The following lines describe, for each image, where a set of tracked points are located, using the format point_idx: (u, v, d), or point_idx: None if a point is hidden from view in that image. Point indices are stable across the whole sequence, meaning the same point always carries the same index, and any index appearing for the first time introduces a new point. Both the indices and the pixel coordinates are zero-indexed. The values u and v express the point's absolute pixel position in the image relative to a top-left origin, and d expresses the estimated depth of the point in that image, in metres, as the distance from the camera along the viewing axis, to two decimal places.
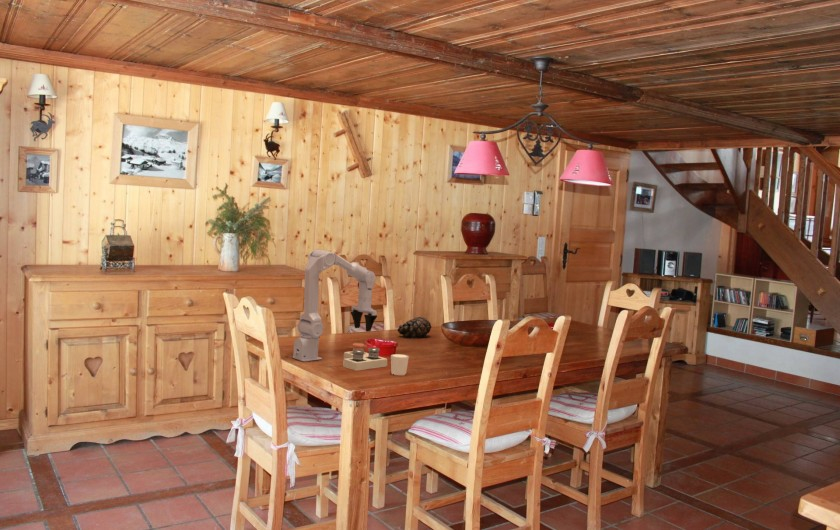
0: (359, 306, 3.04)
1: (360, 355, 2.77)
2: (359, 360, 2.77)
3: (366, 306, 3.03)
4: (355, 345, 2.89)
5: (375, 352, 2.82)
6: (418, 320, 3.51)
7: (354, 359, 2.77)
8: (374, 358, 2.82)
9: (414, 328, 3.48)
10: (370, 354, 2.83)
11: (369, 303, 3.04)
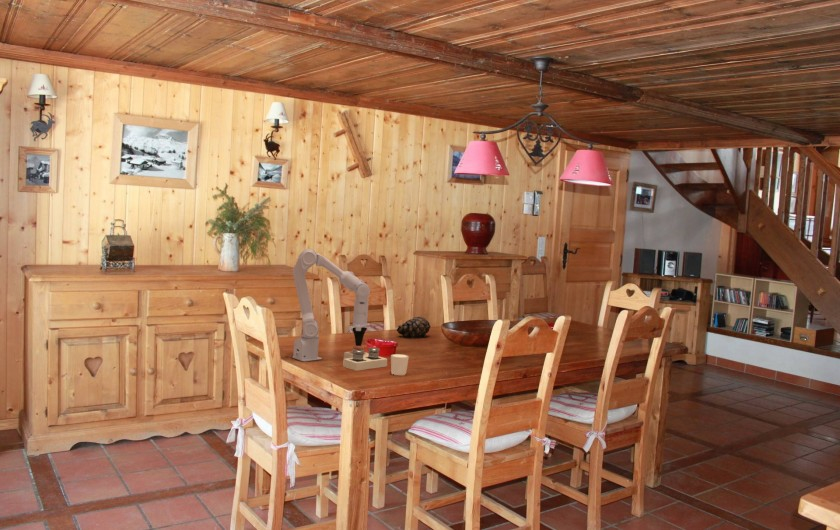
0: (353, 320, 2.90)
1: (360, 355, 2.77)
2: (359, 360, 2.77)
3: (357, 320, 2.87)
4: (355, 346, 2.89)
5: (375, 352, 2.82)
6: (417, 320, 3.51)
7: (354, 359, 2.77)
8: (374, 358, 2.82)
9: (413, 328, 3.48)
10: (370, 354, 2.83)
11: (360, 318, 2.87)
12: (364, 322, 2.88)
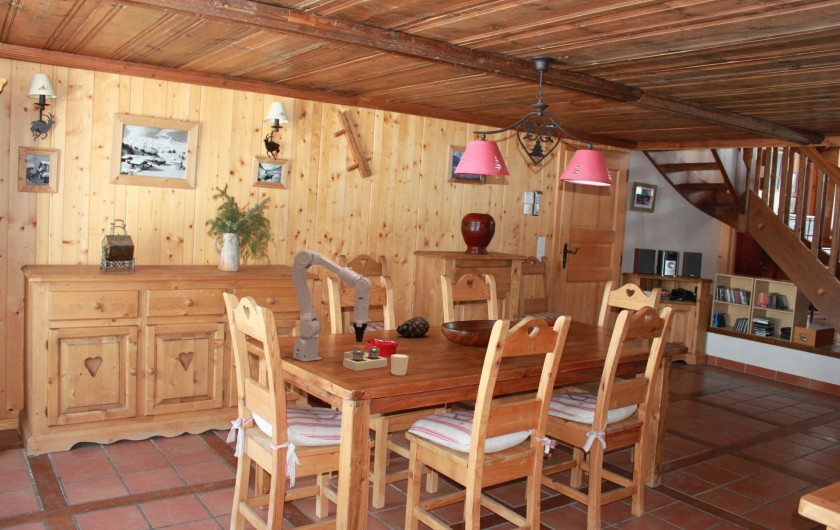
0: None
1: (360, 355, 2.77)
2: (359, 360, 2.77)
3: (358, 316, 2.81)
4: (355, 347, 2.89)
5: (375, 352, 2.82)
6: (417, 320, 3.51)
7: (354, 359, 2.77)
8: (374, 358, 2.82)
9: (413, 328, 3.48)
10: (370, 354, 2.83)
11: (361, 313, 2.81)
12: (365, 318, 2.81)
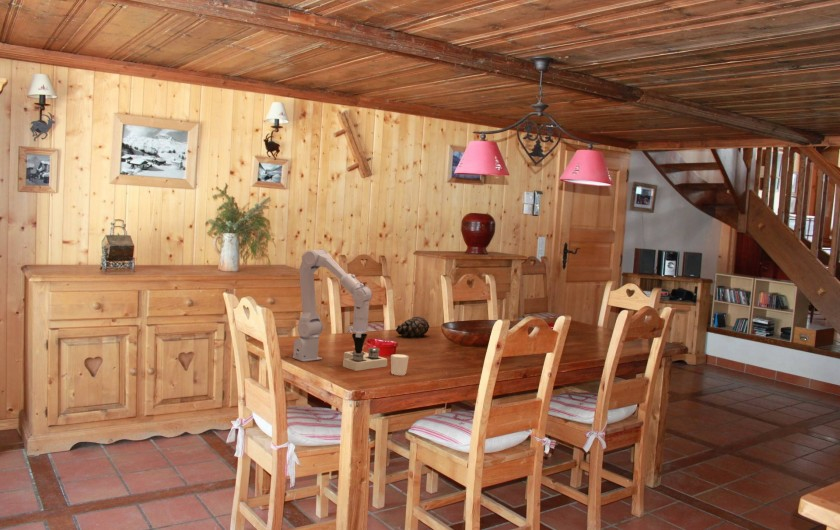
0: (353, 326, 2.77)
1: (360, 357, 2.77)
2: None
3: (357, 326, 2.75)
4: None
5: (375, 352, 2.82)
6: (416, 320, 3.52)
7: None
8: (374, 358, 2.82)
9: (413, 328, 3.48)
10: (370, 354, 2.83)
11: (361, 324, 2.75)
12: (364, 328, 2.75)
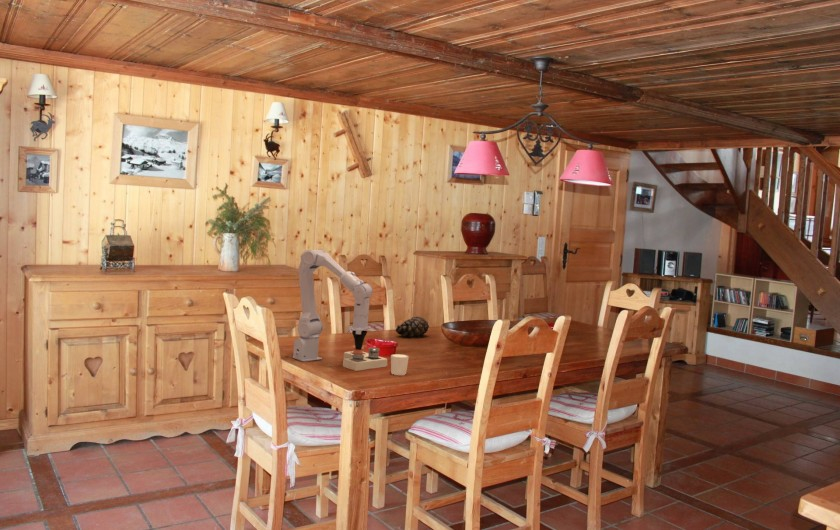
0: (353, 323, 2.77)
1: (360, 360, 2.77)
2: None
3: (357, 323, 2.75)
4: None
5: (375, 352, 2.82)
6: (416, 320, 3.52)
7: None
8: (374, 358, 2.82)
9: (412, 328, 3.48)
10: (370, 354, 2.83)
11: (361, 321, 2.75)
12: (364, 325, 2.75)
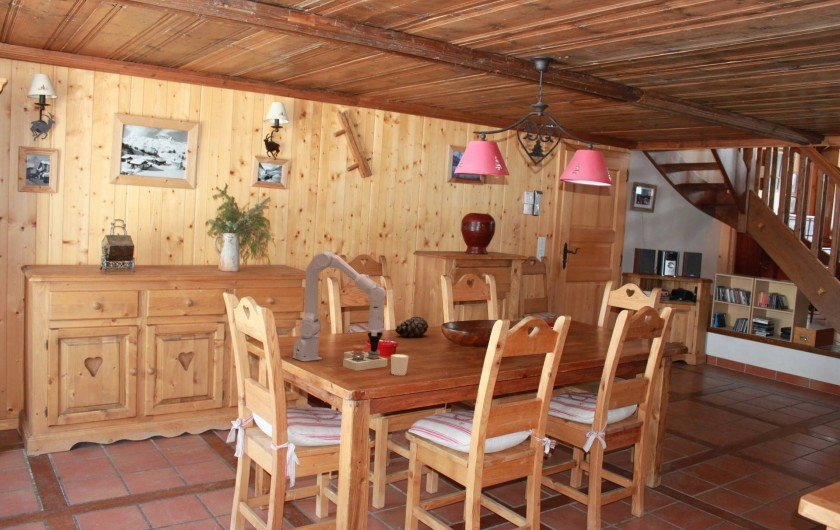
0: (368, 325, 2.83)
1: (360, 360, 2.77)
2: None
3: (373, 325, 2.80)
4: (355, 347, 2.89)
5: (375, 354, 2.82)
6: (415, 320, 3.52)
7: None
8: None
9: (412, 328, 3.48)
10: (370, 356, 2.83)
11: (376, 323, 2.80)
12: (380, 327, 2.81)
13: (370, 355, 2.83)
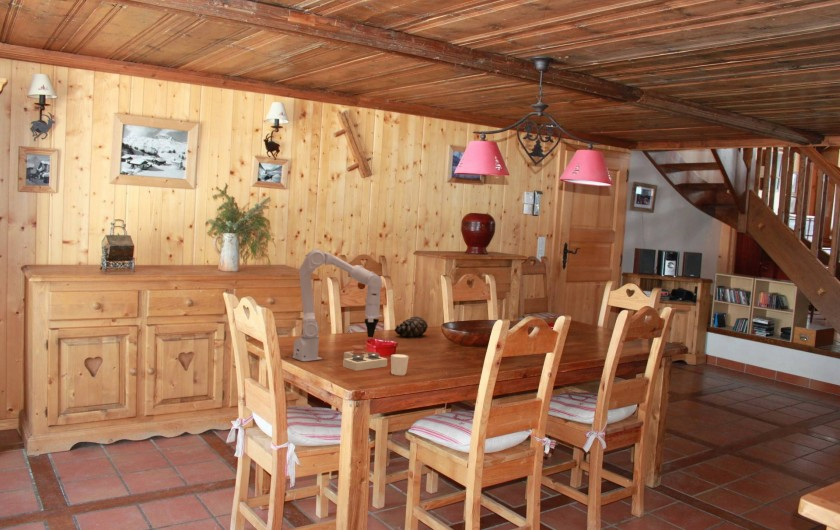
0: (365, 311, 2.90)
1: (360, 360, 2.77)
2: None
3: (369, 312, 2.88)
4: (355, 347, 2.89)
5: (375, 357, 2.82)
6: (415, 320, 3.52)
7: None
8: None
9: (412, 328, 3.48)
10: None
11: (373, 309, 2.88)
12: (376, 313, 2.89)
13: (370, 358, 2.83)
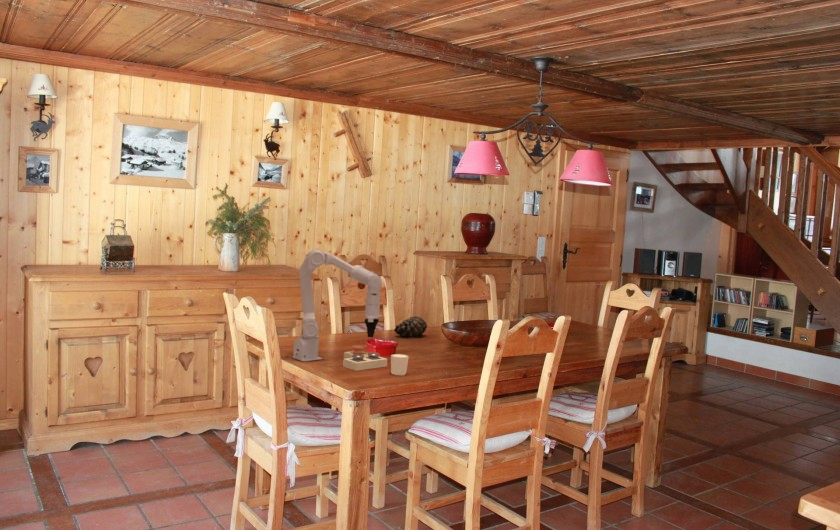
0: (365, 311, 2.90)
1: (360, 360, 2.77)
2: None
3: (369, 312, 2.88)
4: (355, 347, 2.89)
5: (375, 357, 2.82)
6: (414, 320, 3.52)
7: None
8: None
9: (411, 328, 3.48)
10: None
11: (373, 309, 2.88)
12: (376, 313, 2.89)
13: (370, 358, 2.83)
